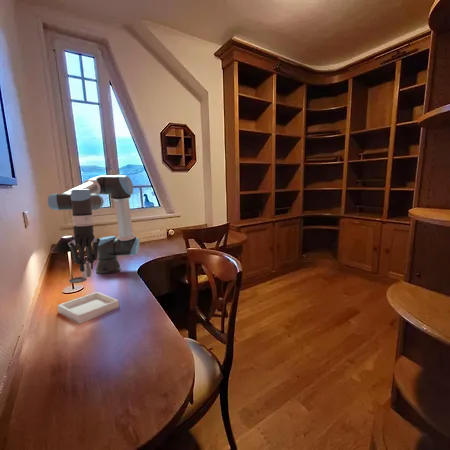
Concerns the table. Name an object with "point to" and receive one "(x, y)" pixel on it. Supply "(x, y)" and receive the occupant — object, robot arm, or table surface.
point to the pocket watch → (80, 279)
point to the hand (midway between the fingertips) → (87, 277)
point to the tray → (88, 307)
